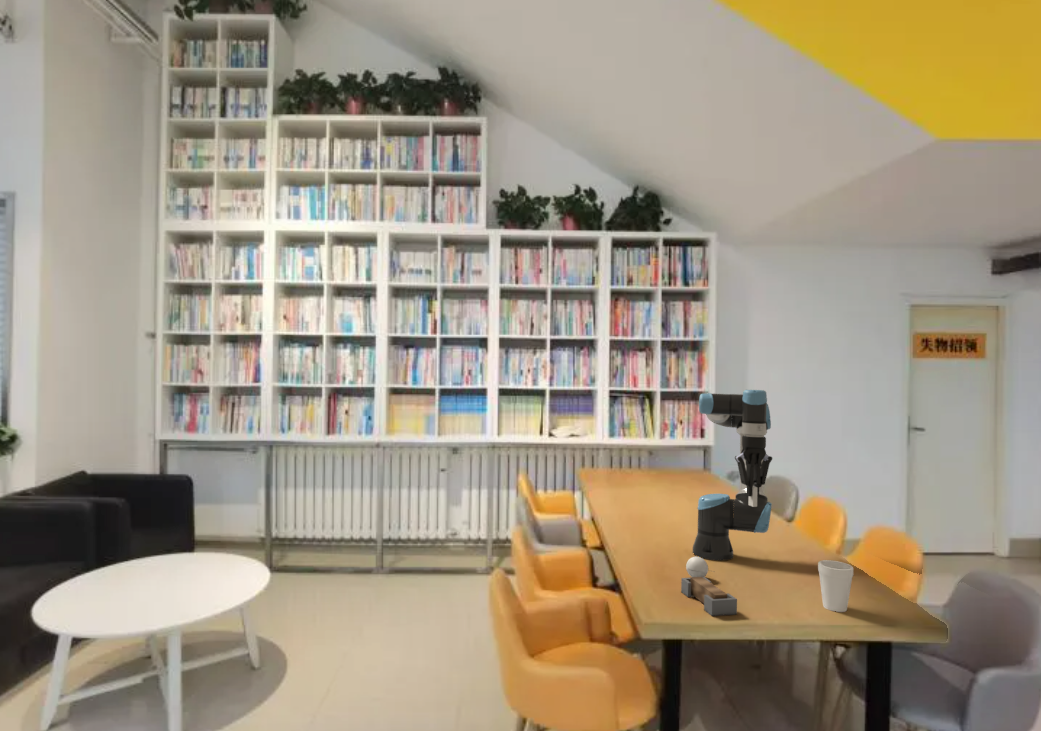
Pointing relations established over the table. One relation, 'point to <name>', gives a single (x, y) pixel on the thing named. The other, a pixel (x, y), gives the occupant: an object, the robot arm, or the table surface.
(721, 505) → the robot arm
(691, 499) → the table surface
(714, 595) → the slat
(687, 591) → the cap
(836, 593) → the foam cup
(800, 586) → the table surface
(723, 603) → the cap
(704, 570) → the ball
